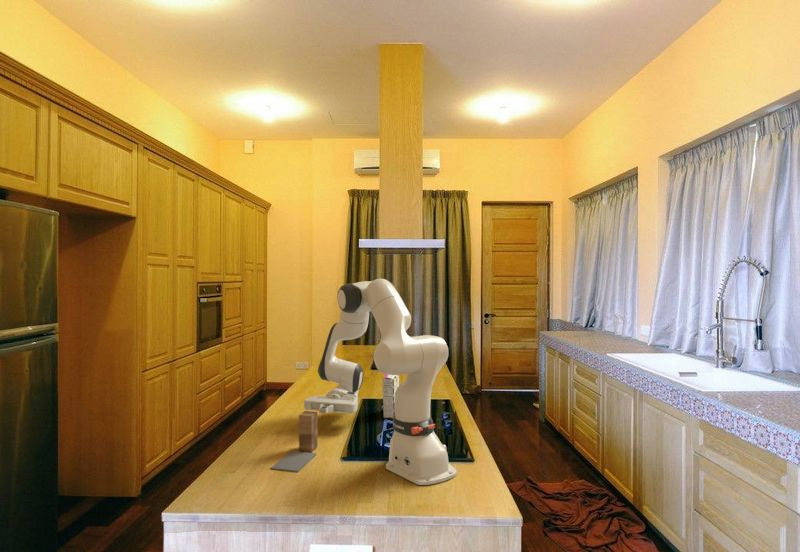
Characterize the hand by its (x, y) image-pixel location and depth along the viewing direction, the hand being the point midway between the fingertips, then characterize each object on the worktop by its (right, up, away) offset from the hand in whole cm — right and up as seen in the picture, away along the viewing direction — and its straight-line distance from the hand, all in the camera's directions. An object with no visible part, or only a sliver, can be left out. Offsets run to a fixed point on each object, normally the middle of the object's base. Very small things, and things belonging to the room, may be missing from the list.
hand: (322, 411), depth 161 cm
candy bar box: (+24, -9, +24) cm, 36 cm away
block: (-3, -9, -12) cm, 15 cm away
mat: (-5, -9, -22) cm, 24 cm away
